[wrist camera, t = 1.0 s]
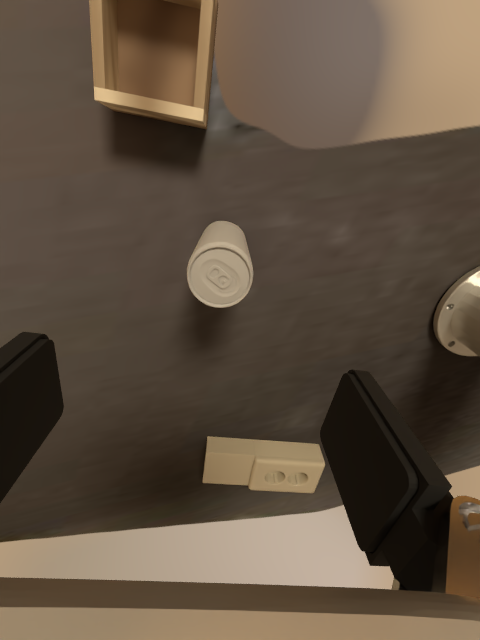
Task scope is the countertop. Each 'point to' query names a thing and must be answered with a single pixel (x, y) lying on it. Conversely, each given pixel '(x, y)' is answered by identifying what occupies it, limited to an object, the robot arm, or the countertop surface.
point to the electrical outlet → (263, 464)
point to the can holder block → (154, 57)
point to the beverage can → (220, 266)
